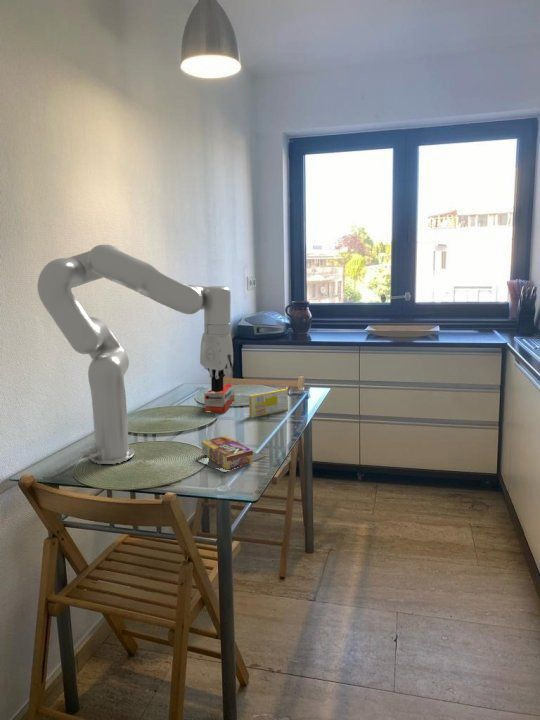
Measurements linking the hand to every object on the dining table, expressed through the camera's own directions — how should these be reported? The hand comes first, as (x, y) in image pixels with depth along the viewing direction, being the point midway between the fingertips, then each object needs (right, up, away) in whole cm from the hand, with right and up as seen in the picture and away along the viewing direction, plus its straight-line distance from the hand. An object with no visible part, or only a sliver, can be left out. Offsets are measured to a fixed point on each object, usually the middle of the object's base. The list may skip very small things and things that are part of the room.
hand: (217, 390), depth 161 cm
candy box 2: (+15, -11, +43) cm, 47 cm away
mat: (+4, -20, 0) cm, 21 cm away
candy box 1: (-1, -17, +5) cm, 17 cm away
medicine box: (-4, -10, +51) cm, 52 cm away
